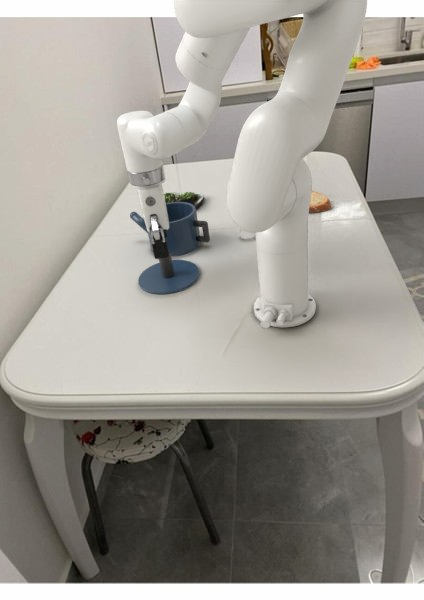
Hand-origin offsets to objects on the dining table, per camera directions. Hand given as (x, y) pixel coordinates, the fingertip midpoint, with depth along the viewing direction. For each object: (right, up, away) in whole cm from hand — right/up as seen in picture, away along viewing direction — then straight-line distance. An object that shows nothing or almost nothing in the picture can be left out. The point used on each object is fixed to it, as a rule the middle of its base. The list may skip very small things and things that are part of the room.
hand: (161, 247), depth 101 cm
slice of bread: (+38, +17, +32) cm, 53 cm away
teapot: (+2, +3, +19) cm, 19 cm away
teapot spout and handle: (+1, +4, +18) cm, 19 cm away
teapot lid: (+1, -7, +4) cm, 8 cm away
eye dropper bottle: (+23, +5, +17) cm, 29 cm away
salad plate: (0, +18, +42) cm, 45 cm away
